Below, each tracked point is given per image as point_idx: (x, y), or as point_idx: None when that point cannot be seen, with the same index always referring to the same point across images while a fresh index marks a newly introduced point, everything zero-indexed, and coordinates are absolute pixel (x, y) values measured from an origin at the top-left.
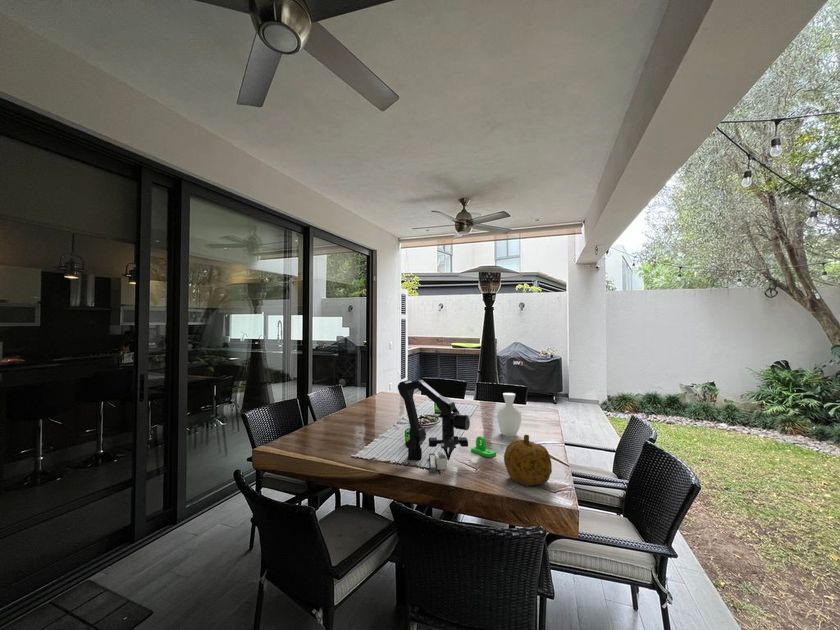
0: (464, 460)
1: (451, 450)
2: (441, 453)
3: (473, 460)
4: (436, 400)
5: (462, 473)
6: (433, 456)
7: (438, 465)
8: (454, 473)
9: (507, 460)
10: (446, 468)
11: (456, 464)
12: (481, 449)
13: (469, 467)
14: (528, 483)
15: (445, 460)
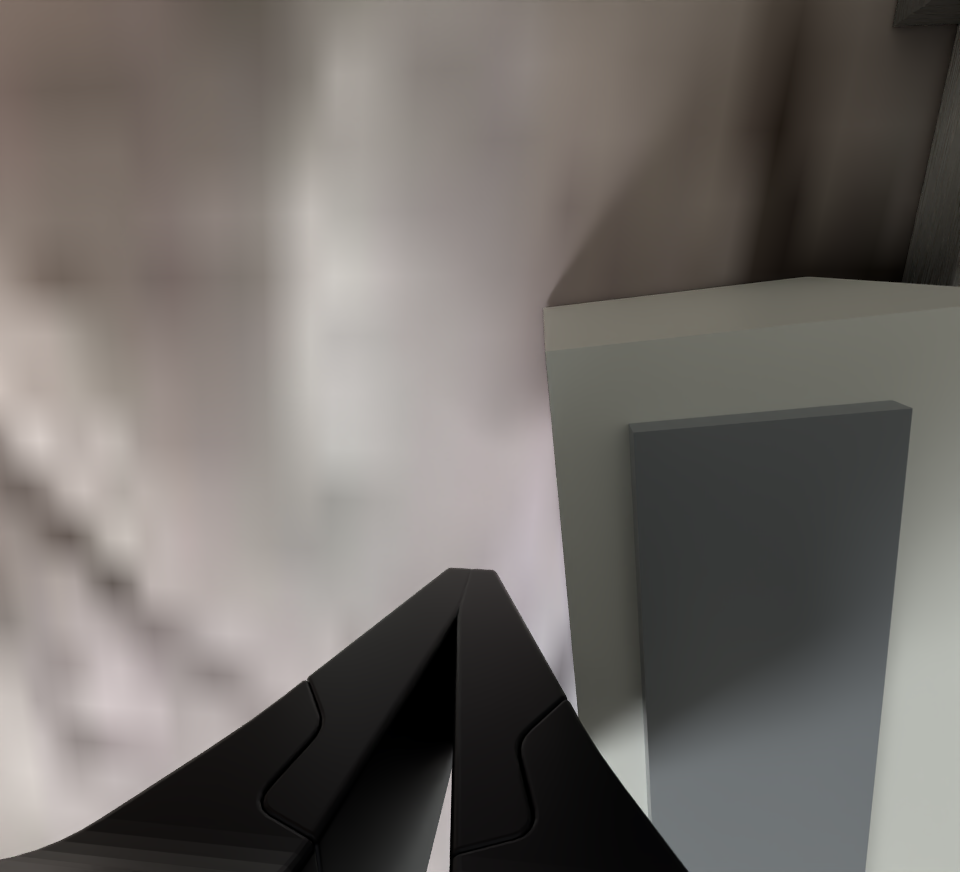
0: (161, 739)
1: (172, 822)
2: (712, 851)
3: (6, 725)
4: None
5: (158, 66)
6: None
7: (842, 283)
8: (362, 55)
9: None
10: (556, 310)
11: (308, 583)
12: None
13: (36, 428)
14: None
15: (607, 334)
